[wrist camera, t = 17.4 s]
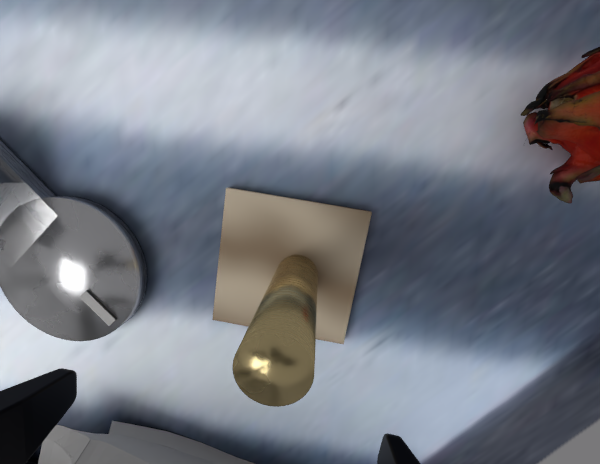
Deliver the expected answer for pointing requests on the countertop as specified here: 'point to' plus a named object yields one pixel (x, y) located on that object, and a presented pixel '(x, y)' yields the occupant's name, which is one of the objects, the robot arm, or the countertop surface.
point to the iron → (128, 447)
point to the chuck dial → (65, 258)
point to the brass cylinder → (281, 337)
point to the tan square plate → (285, 242)
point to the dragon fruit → (570, 124)
